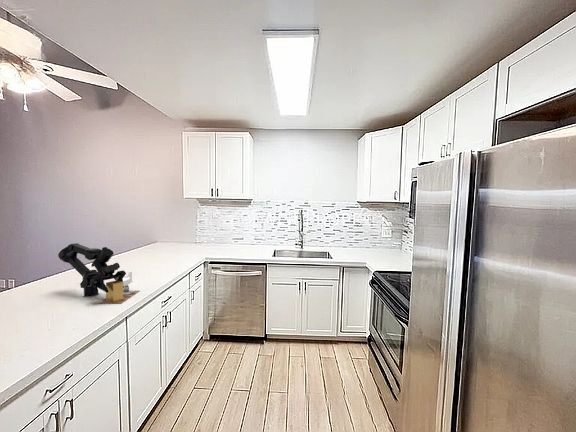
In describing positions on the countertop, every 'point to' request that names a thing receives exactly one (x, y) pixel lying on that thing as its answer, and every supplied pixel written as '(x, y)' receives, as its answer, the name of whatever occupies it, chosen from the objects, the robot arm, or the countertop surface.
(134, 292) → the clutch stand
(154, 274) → the countertop surface
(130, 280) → the bracket
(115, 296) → the gold square tube
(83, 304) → the countertop surface
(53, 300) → the countertop surface
